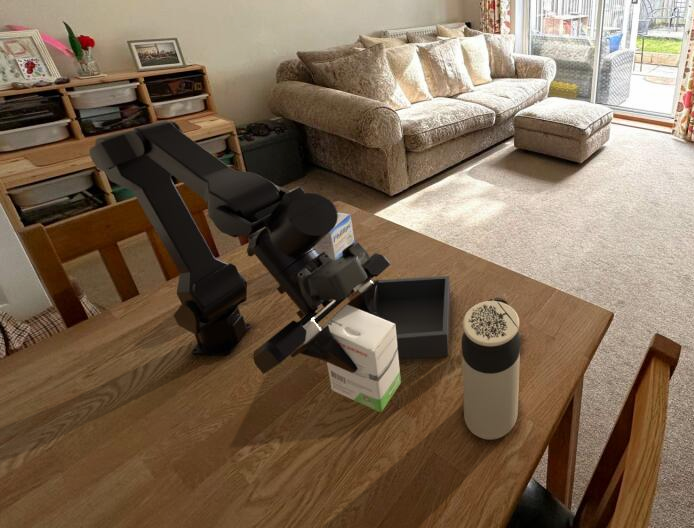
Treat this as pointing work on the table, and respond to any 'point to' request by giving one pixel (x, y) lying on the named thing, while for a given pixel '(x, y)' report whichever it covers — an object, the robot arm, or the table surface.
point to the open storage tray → (417, 314)
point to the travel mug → (490, 369)
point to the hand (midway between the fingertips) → (369, 354)
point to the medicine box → (337, 237)
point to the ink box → (365, 357)
